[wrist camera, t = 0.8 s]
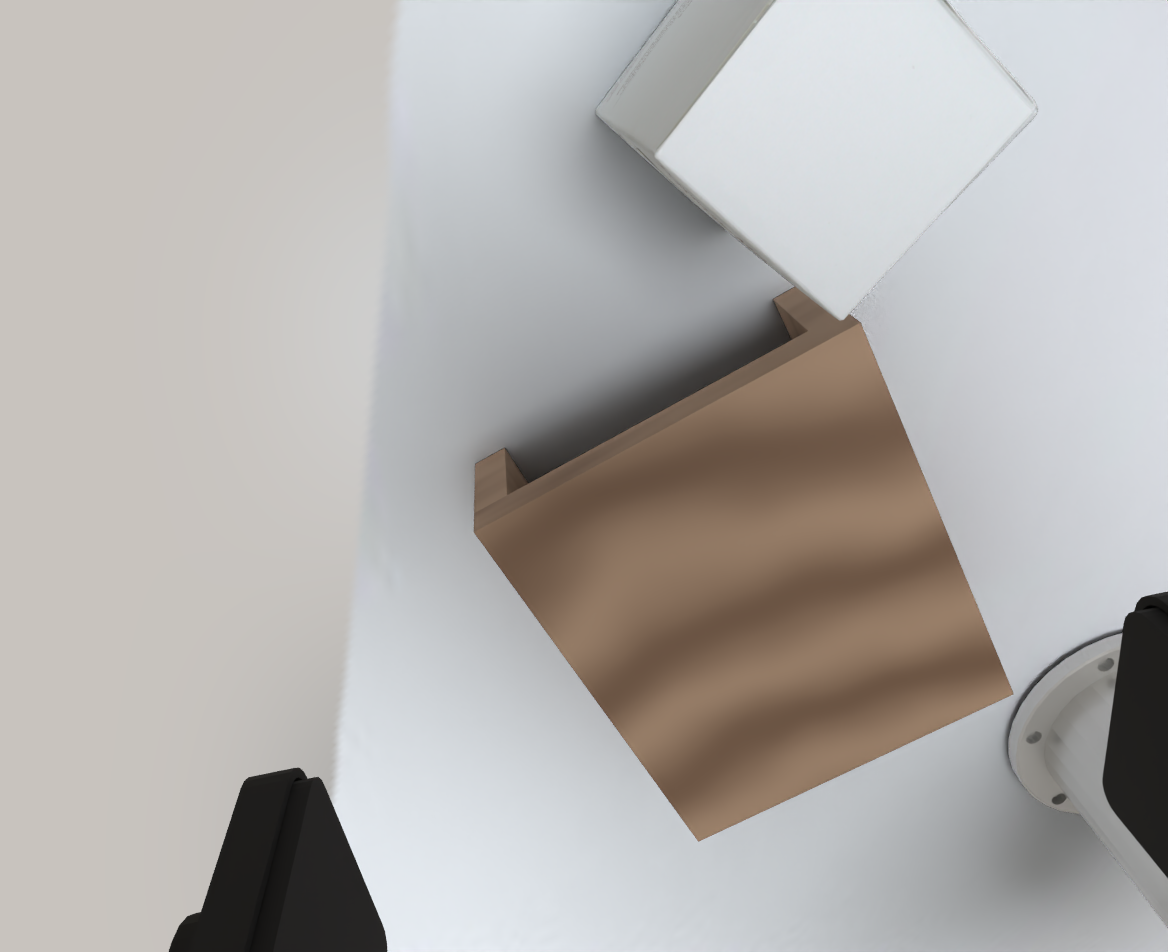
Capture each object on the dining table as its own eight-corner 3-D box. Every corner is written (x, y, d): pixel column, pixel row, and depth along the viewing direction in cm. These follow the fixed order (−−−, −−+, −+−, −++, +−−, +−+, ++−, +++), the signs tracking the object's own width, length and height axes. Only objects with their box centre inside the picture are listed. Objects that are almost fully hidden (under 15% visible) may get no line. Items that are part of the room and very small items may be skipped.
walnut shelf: (951, 616, 45) (1013, 694, 40) (674, 750, 47) (698, 841, 42) (805, 281, 37) (860, 322, 31) (475, 464, 39) (473, 532, 33)
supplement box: (587, 112, 33) (641, 151, 22) (723, -65, 31) (861, -124, 20) (728, 238, 36) (840, 331, 24) (861, 83, 34) (1053, 106, 22)
